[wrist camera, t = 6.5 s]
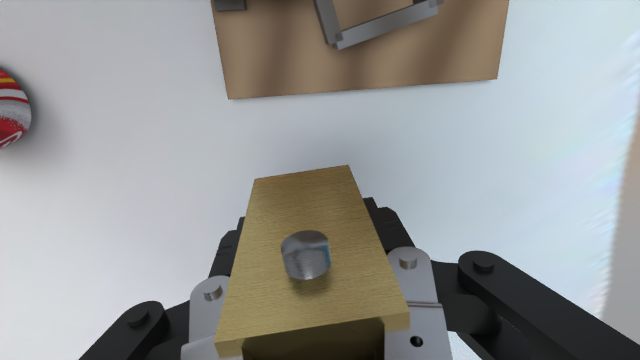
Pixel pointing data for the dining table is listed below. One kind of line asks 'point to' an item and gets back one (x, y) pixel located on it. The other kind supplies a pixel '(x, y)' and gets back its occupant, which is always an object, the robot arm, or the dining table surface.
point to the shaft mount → (355, 44)
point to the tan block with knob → (309, 274)
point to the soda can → (12, 111)
